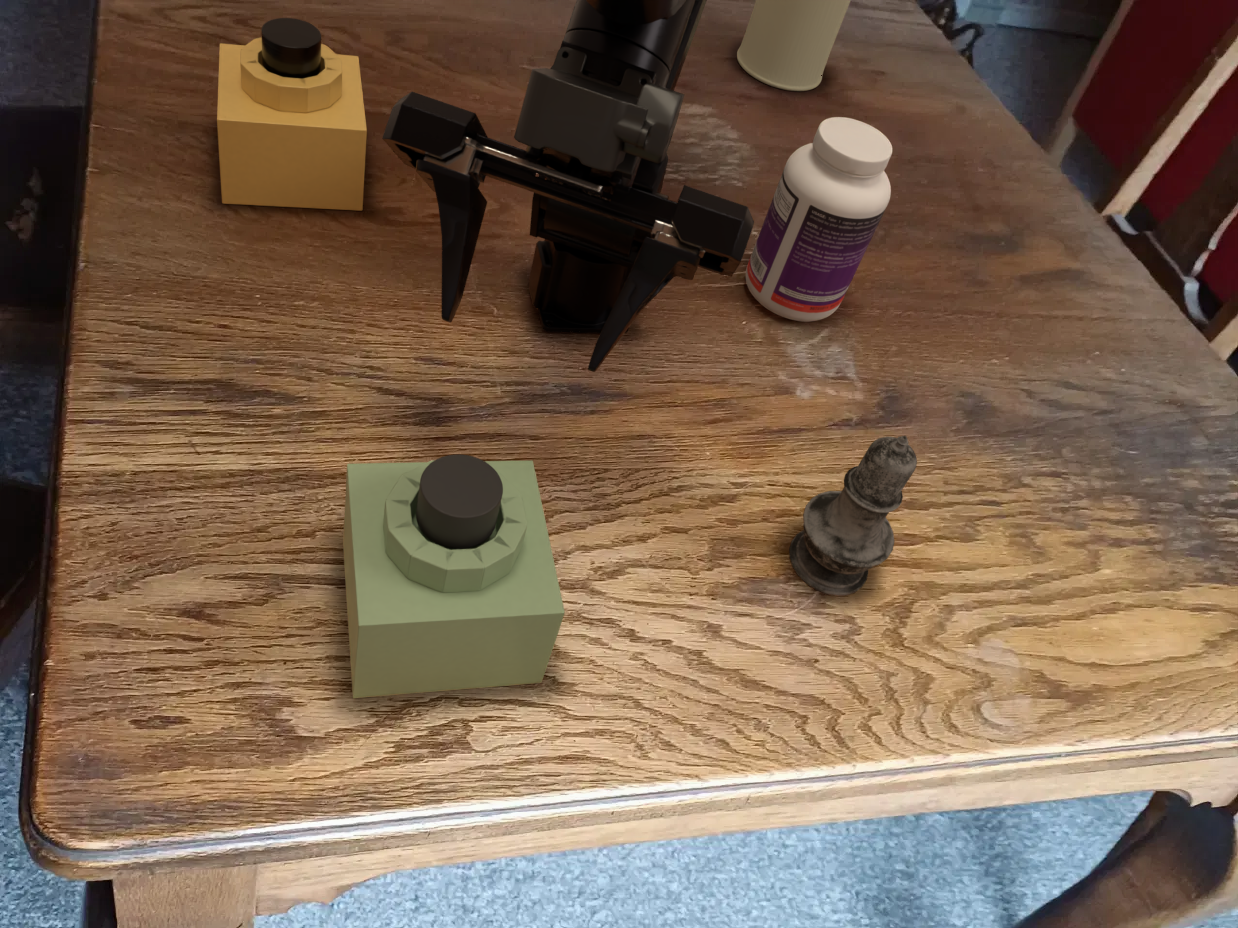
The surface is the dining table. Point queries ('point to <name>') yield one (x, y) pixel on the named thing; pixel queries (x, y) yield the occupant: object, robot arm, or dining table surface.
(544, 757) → the dining table surface
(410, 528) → the green push button box
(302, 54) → the back button
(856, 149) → the pill bottle
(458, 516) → the front button
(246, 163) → the yellow push button box
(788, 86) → the can
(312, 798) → the dining table surface
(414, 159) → the robot arm
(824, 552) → the chess piece
